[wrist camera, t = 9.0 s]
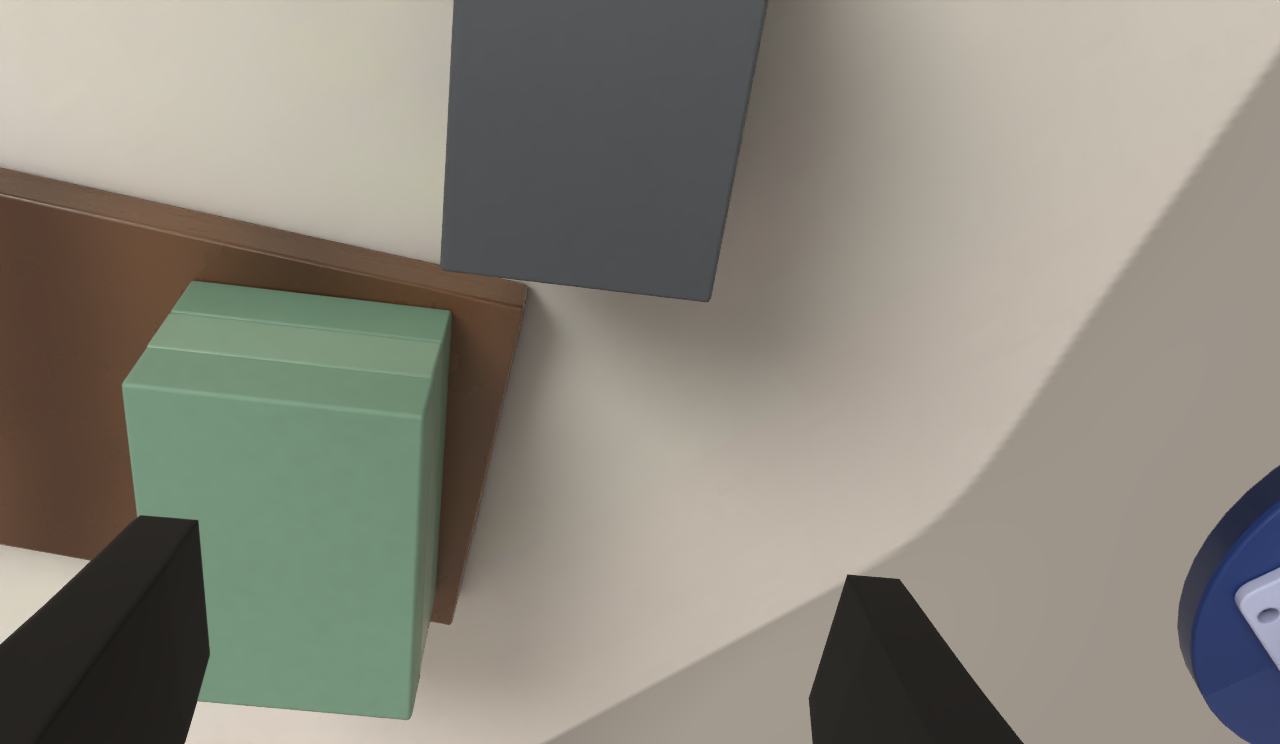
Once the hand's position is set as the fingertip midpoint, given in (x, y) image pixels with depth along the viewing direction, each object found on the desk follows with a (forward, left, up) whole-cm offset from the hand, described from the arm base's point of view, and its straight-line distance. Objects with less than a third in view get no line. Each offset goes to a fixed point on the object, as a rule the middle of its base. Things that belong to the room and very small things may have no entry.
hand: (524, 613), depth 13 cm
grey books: (+3, -3, -10) cm, 11 cm away
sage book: (-1, +7, -7) cm, 10 cm away
